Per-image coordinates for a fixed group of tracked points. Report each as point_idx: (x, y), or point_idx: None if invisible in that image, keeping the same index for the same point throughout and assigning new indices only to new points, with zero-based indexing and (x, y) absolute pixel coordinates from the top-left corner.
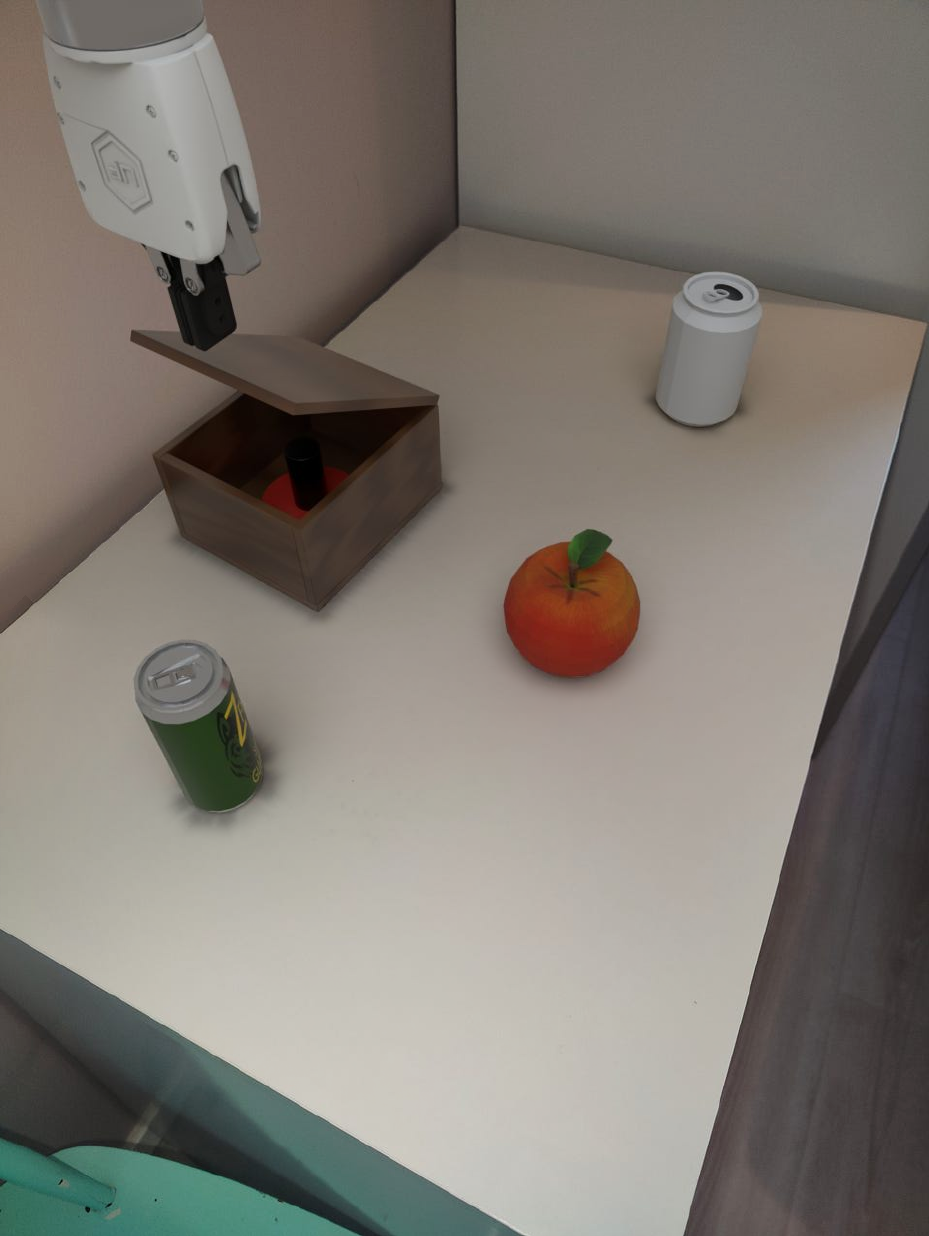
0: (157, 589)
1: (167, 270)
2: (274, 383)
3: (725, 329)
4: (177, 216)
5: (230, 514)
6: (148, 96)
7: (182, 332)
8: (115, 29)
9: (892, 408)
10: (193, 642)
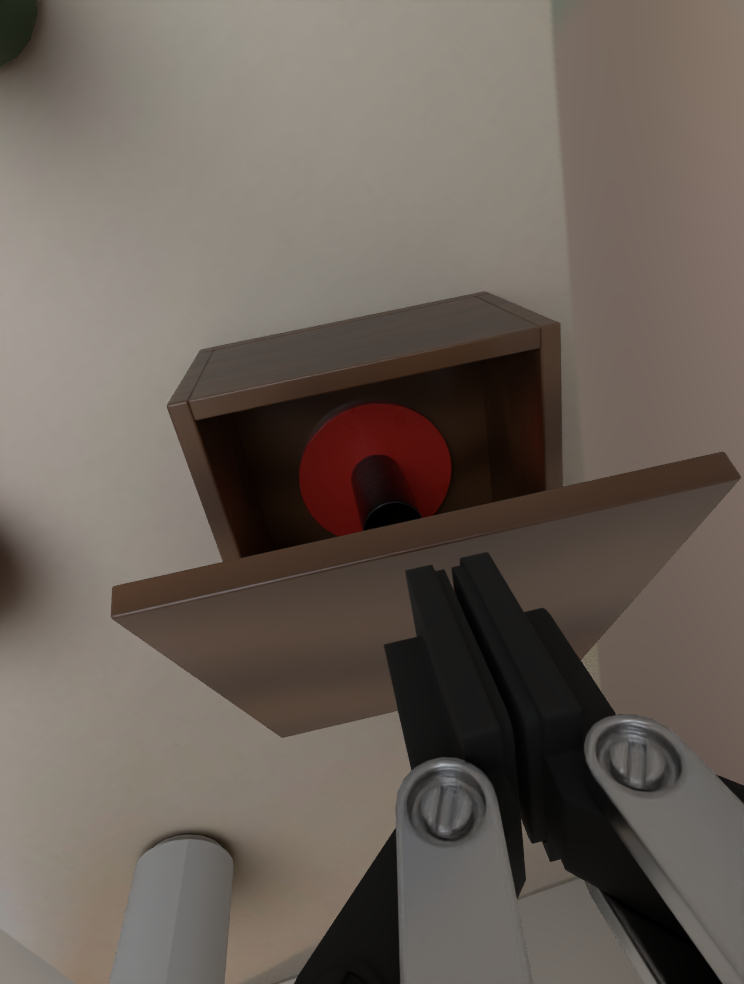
0: (423, 186)
1: (611, 797)
2: (288, 614)
3: None
4: None
5: (357, 349)
6: None
7: (490, 577)
8: None
9: (49, 961)
10: None
